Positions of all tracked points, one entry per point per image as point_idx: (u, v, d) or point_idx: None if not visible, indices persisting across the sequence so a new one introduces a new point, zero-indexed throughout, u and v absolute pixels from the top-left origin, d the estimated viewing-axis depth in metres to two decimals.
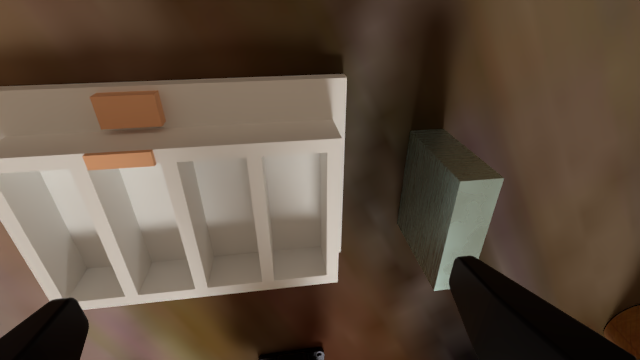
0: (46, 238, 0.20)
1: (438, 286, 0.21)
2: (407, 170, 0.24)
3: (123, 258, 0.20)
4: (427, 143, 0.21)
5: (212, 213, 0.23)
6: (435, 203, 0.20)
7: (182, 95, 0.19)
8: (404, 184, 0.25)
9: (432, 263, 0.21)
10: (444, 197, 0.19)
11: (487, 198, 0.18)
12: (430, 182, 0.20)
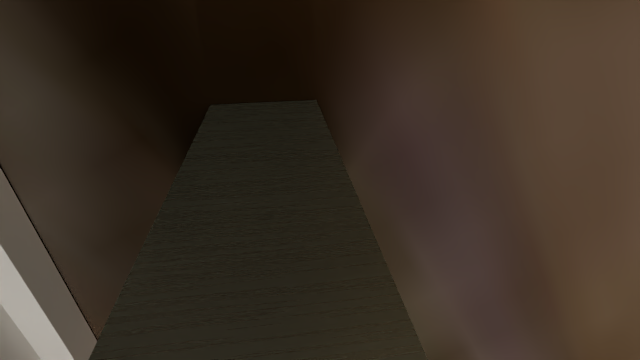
0: None
1: None
2: None
3: None
4: (205, 145, 0.06)
5: None
6: None
7: None
8: None
9: None
10: None
11: None
12: None
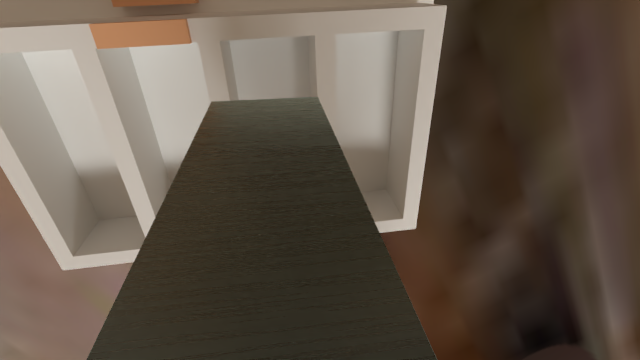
0: (45, 167, 0.15)
1: None
2: None
3: (146, 192, 0.15)
4: (207, 142, 0.06)
5: None
6: None
7: None
8: None
9: None
10: None
11: None
12: None
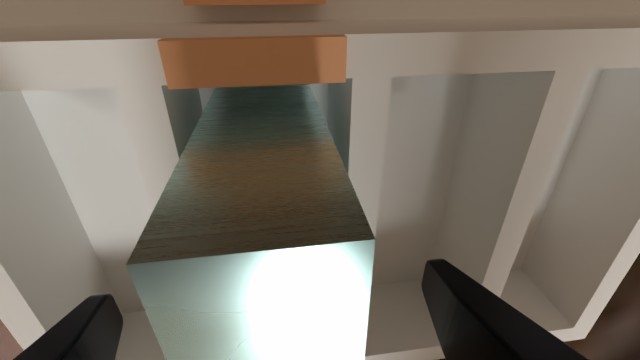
0: (49, 266, 0.09)
1: None
2: None
3: None
4: (217, 106, 0.07)
5: None
6: None
7: None
8: None
9: None
10: None
11: (318, 322, 0.04)
12: None
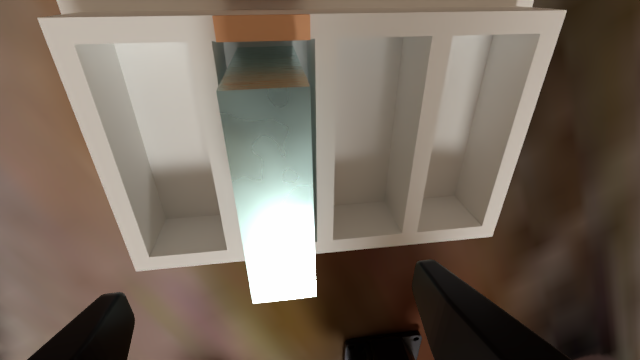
0: (130, 164, 0.14)
1: (258, 296, 0.12)
2: None
3: None
4: (239, 57, 0.12)
5: None
6: None
7: None
8: None
9: None
10: None
11: (290, 131, 0.09)
12: None
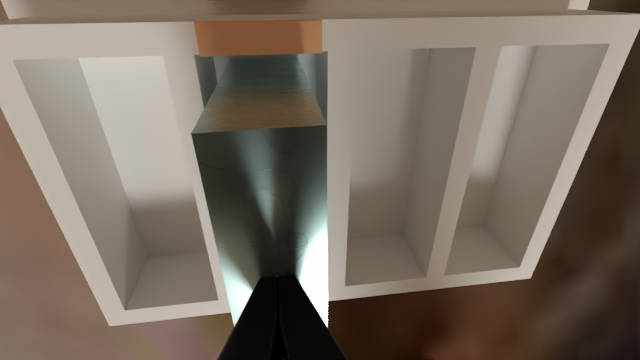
0: (99, 202, 0.12)
1: None
2: None
3: None
4: (231, 73, 0.10)
5: None
6: None
7: None
8: None
9: None
10: None
11: (297, 184, 0.07)
12: None
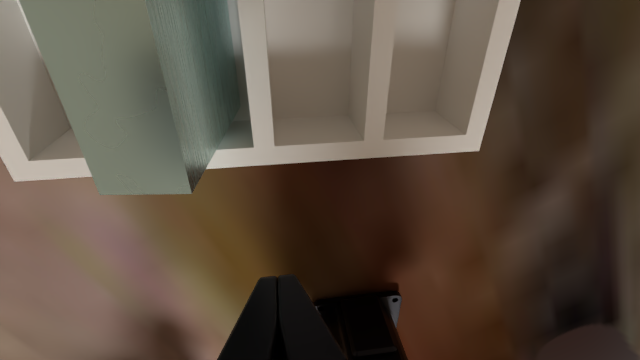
0: None
1: (105, 183, 0.09)
2: None
3: None
4: None
5: (279, 28, 0.14)
6: None
7: None
8: None
9: None
10: None
11: None
12: None
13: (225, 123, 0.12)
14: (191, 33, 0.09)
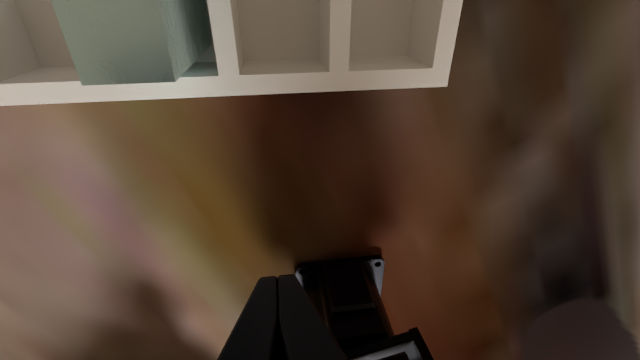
0: None
1: (87, 72, 0.09)
2: None
3: None
4: None
5: None
6: None
7: None
8: None
9: None
10: None
11: None
12: None
13: (199, 46, 0.13)
14: None
